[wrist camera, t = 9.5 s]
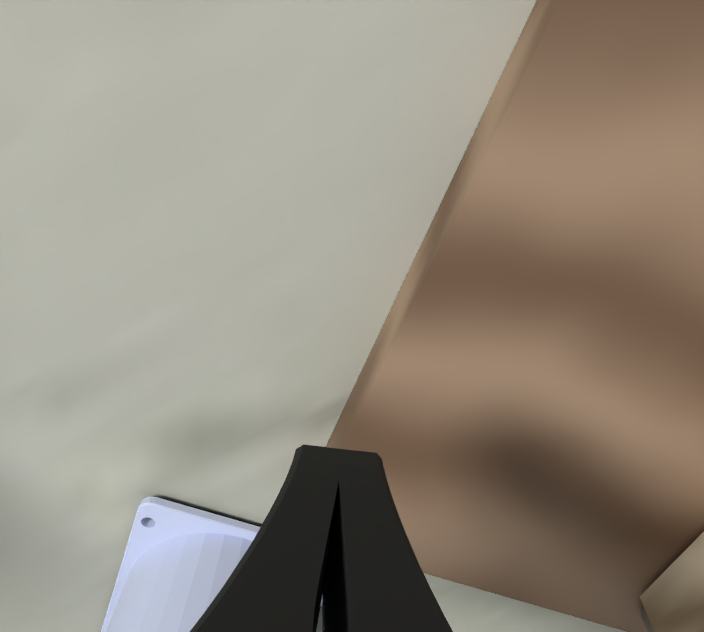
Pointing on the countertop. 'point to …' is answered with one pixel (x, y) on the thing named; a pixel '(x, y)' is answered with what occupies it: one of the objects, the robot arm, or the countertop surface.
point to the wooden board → (558, 324)
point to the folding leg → (677, 594)
